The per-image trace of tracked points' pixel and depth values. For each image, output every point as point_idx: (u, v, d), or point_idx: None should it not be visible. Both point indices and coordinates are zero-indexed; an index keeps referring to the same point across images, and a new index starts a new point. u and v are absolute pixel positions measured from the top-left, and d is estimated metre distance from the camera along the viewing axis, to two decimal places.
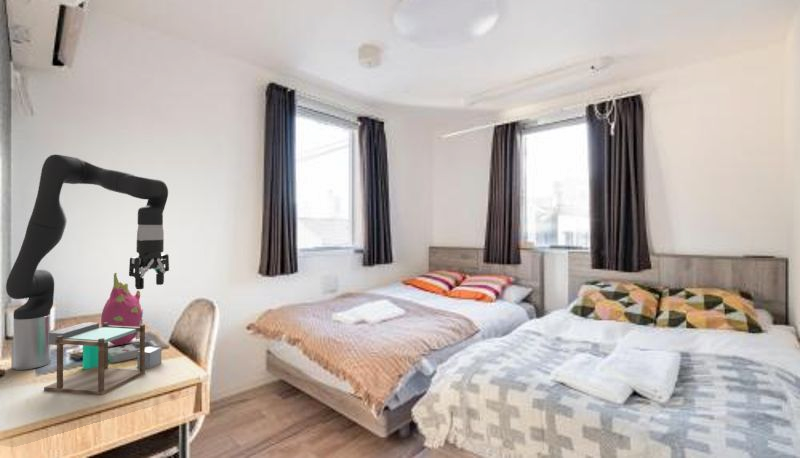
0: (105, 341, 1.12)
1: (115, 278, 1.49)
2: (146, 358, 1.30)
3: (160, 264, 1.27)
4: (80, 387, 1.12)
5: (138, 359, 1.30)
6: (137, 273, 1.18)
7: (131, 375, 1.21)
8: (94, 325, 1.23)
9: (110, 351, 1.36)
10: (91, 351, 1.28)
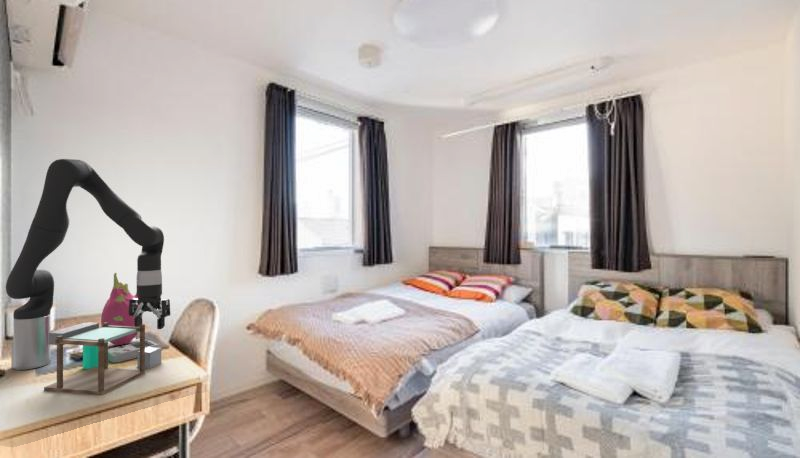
0: (105, 341, 1.12)
1: (115, 278, 1.49)
2: (146, 358, 1.30)
3: None
4: (80, 387, 1.12)
5: (138, 359, 1.30)
6: None
7: (131, 375, 1.21)
8: (94, 325, 1.23)
9: (110, 351, 1.36)
10: (91, 351, 1.28)
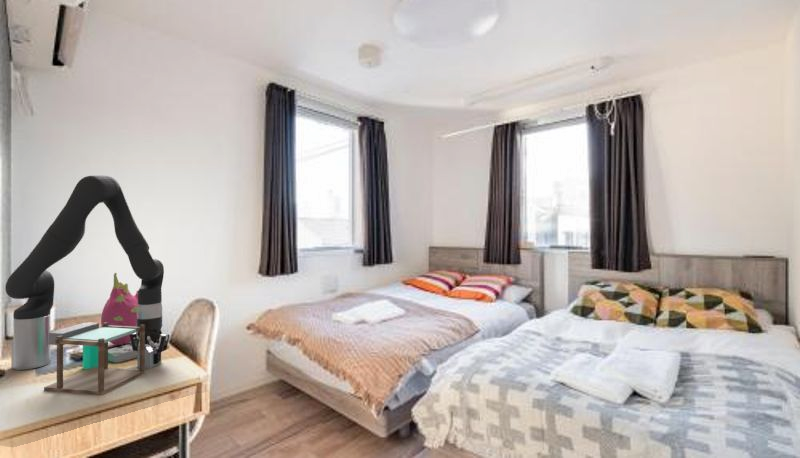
0: (105, 341, 1.12)
1: (115, 278, 1.49)
2: (146, 357, 1.30)
3: None
4: (80, 387, 1.12)
5: (138, 359, 1.30)
6: None
7: (131, 375, 1.21)
8: (94, 325, 1.23)
9: (110, 352, 1.36)
10: (91, 351, 1.28)
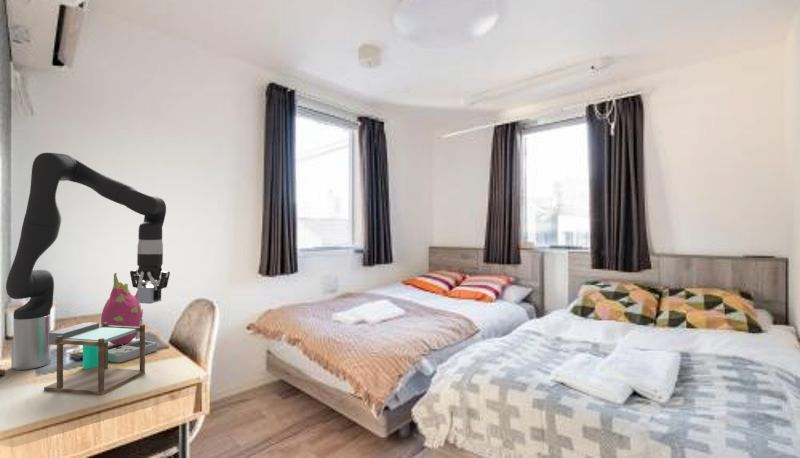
0: (105, 341, 1.12)
1: (115, 278, 1.49)
2: (146, 293, 1.30)
3: None
4: (80, 387, 1.12)
5: (138, 295, 1.30)
6: None
7: (131, 375, 1.21)
8: (94, 325, 1.23)
9: (111, 352, 1.35)
10: (91, 351, 1.28)
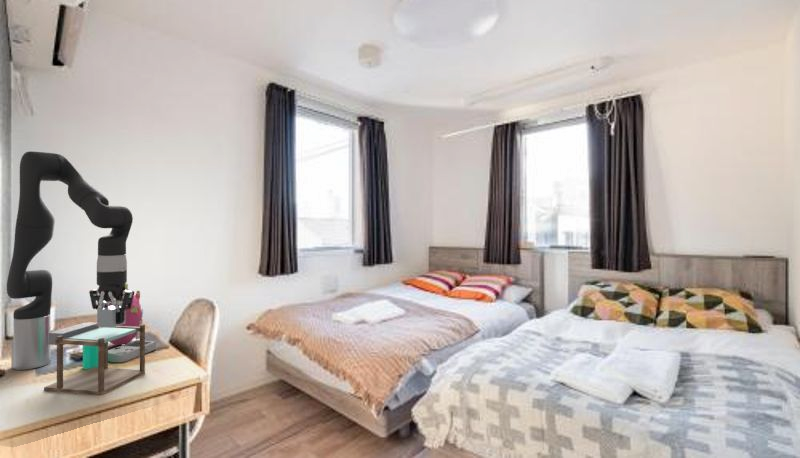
0: (105, 341, 1.12)
1: None
2: (106, 316, 1.15)
3: None
4: (80, 387, 1.12)
5: (98, 318, 1.15)
6: None
7: (131, 375, 1.21)
8: (94, 325, 1.23)
9: (112, 352, 1.35)
10: (91, 351, 1.28)
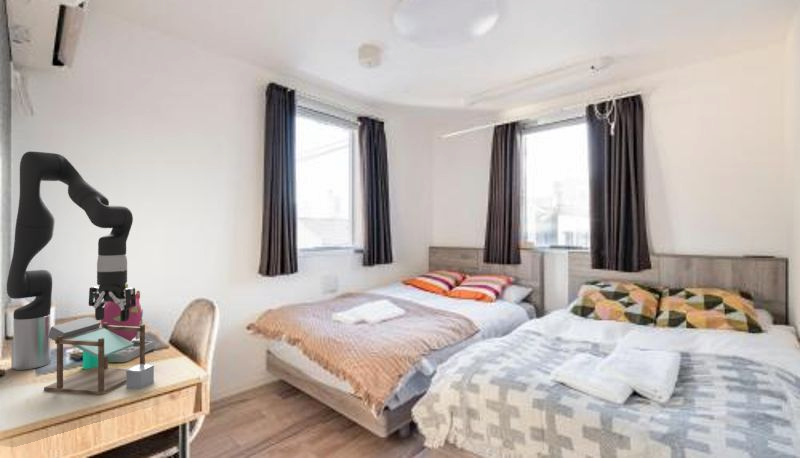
0: None
1: None
2: (131, 381, 1.14)
3: None
4: (80, 387, 1.12)
5: (139, 380, 1.14)
6: None
7: None
8: (96, 324, 1.23)
9: None
10: None
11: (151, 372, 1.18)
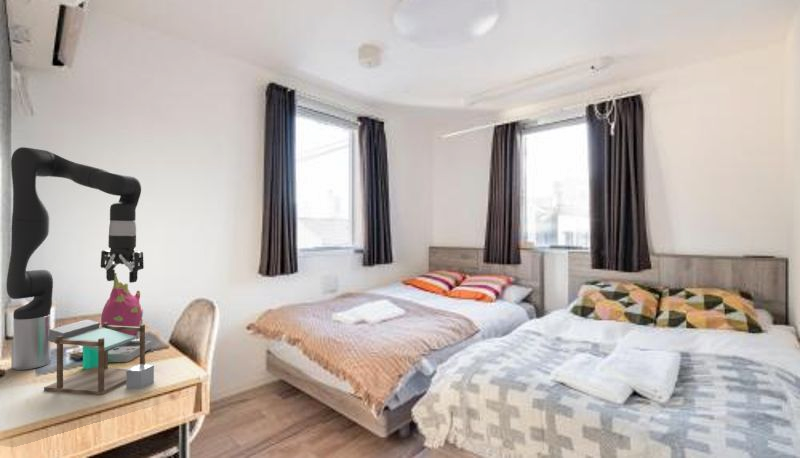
0: (104, 349, 1.12)
1: (115, 278, 1.49)
2: (131, 381, 1.14)
3: None
4: (80, 387, 1.12)
5: (139, 380, 1.14)
6: None
7: None
8: (95, 325, 1.23)
9: (115, 353, 1.35)
10: (91, 351, 1.28)
11: (151, 372, 1.18)
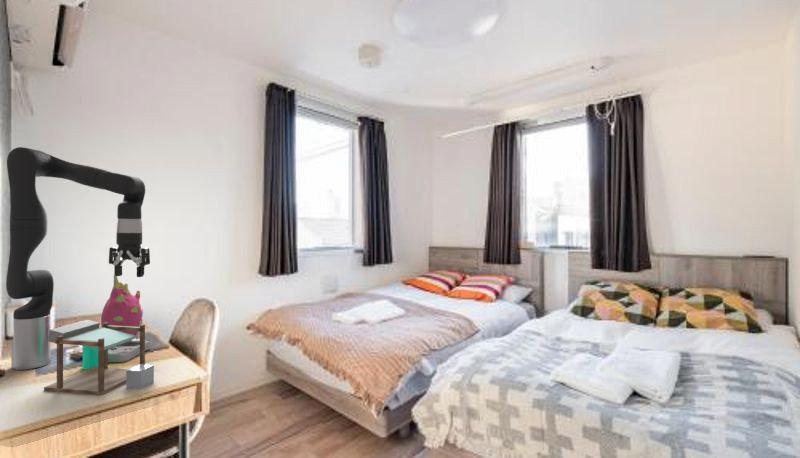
0: (104, 348, 1.12)
1: (115, 278, 1.49)
2: (131, 381, 1.14)
3: None
4: (80, 387, 1.12)
5: (139, 380, 1.14)
6: None
7: None
8: (95, 325, 1.23)
9: (112, 353, 1.34)
10: (90, 351, 1.28)
11: (151, 372, 1.18)
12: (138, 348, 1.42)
